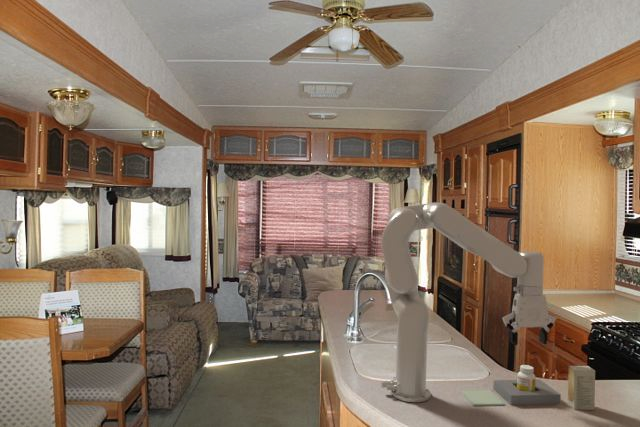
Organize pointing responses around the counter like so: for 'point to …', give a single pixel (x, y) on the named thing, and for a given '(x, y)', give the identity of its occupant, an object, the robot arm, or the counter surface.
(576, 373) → the skincare box
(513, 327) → the robot arm
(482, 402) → the rubber mat
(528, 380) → the supplement bottle
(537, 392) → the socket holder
